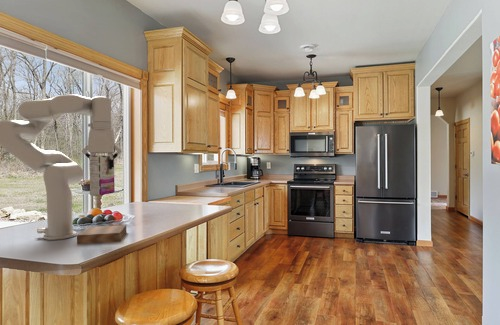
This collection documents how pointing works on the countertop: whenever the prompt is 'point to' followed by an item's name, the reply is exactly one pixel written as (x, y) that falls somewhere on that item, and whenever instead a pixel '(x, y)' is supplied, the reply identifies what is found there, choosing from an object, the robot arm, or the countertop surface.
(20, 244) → the countertop surface
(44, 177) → the robot arm
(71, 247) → the countertop surface
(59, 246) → the countertop surface
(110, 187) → the candy bar box
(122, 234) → the walnut block
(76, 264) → the countertop surface
